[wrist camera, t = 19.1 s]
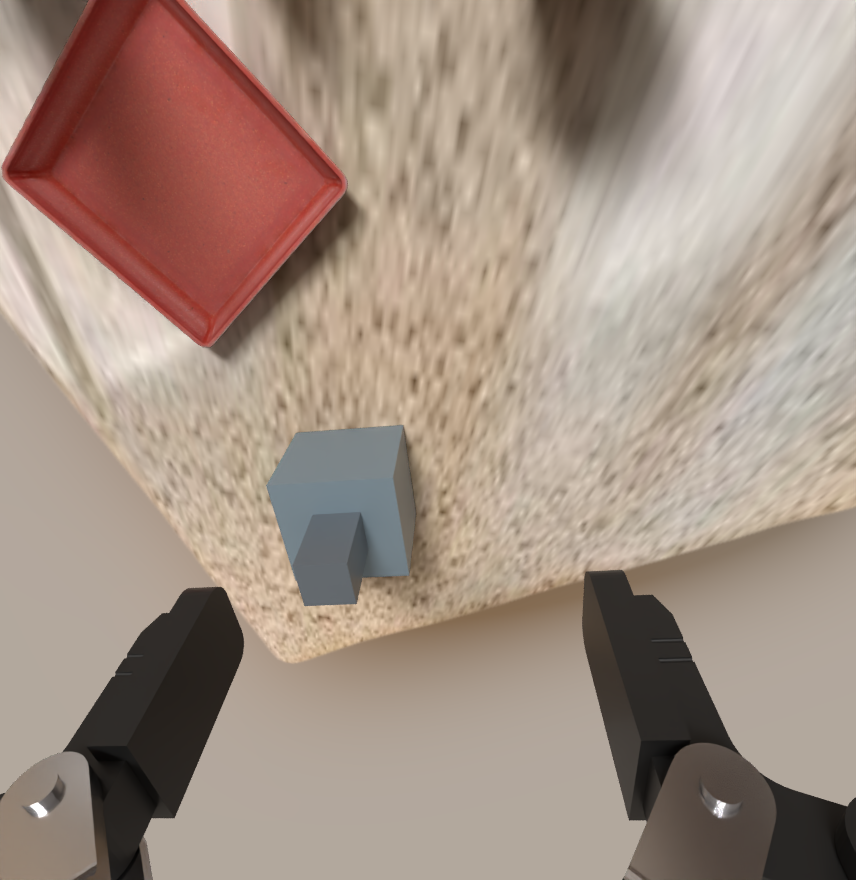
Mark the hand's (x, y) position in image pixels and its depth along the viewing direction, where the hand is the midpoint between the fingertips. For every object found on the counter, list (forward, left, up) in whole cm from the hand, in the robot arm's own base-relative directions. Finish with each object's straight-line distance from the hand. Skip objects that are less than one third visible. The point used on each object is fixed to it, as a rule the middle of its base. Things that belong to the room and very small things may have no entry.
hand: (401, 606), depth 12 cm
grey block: (+10, +18, -34) cm, 40 cm away
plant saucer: (+18, -9, -35) cm, 40 cm away
